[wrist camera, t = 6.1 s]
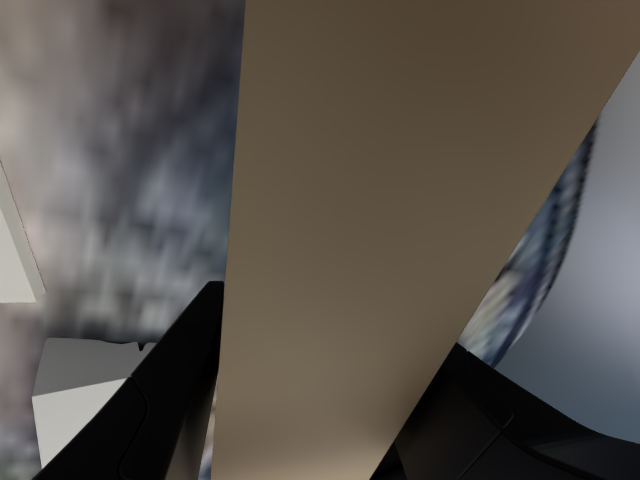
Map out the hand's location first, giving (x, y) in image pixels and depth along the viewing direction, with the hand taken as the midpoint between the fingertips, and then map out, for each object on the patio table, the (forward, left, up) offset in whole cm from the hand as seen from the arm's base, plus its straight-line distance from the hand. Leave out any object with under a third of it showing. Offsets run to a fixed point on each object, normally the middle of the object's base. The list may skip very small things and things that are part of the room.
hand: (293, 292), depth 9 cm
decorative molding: (+11, +31, -12) cm, 35 cm away
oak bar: (0, 0, -1) cm, 1 cm away
